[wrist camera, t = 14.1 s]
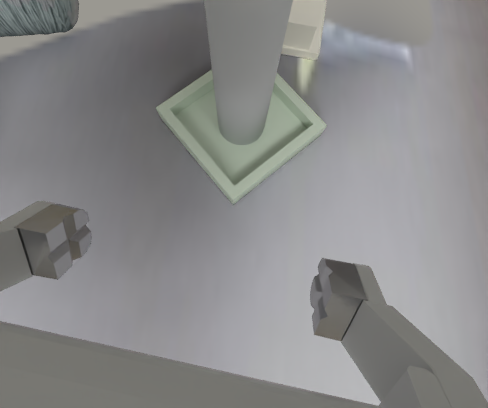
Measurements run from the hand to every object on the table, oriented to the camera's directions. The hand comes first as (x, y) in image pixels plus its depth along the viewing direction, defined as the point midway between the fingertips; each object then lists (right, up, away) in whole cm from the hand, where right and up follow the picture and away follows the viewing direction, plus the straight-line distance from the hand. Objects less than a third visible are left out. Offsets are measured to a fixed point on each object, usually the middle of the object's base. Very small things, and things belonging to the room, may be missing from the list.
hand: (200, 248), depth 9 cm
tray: (+1, +8, +15) cm, 17 cm away
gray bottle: (+1, +8, +14) cm, 16 cm away
